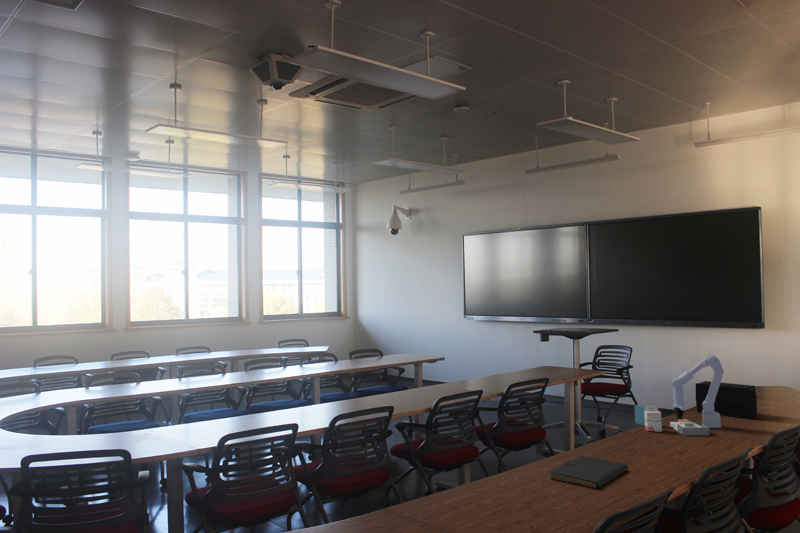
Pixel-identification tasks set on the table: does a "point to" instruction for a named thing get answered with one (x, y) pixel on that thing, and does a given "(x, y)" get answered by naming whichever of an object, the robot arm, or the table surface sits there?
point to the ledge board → (674, 425)
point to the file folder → (589, 471)
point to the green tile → (688, 424)
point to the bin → (694, 431)
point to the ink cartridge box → (652, 419)
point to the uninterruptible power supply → (729, 399)
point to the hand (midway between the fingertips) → (679, 419)
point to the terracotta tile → (682, 420)
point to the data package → (640, 414)
